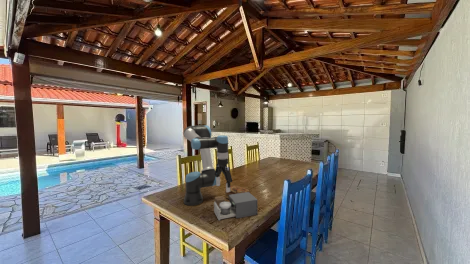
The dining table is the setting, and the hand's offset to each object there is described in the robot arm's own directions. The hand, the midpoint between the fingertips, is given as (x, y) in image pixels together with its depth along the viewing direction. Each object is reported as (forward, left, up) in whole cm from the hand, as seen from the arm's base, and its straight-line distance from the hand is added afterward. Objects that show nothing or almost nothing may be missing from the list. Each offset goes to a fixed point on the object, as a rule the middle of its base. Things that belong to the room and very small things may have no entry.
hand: (223, 188), depth 131 cm
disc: (0, +1, -13) cm, 13 cm away
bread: (-22, +19, -19) cm, 35 cm away
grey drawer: (0, +3, -18) cm, 18 cm away
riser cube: (-14, +1, -19) cm, 23 cm away
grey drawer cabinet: (0, +14, -19) cm, 23 cm away
